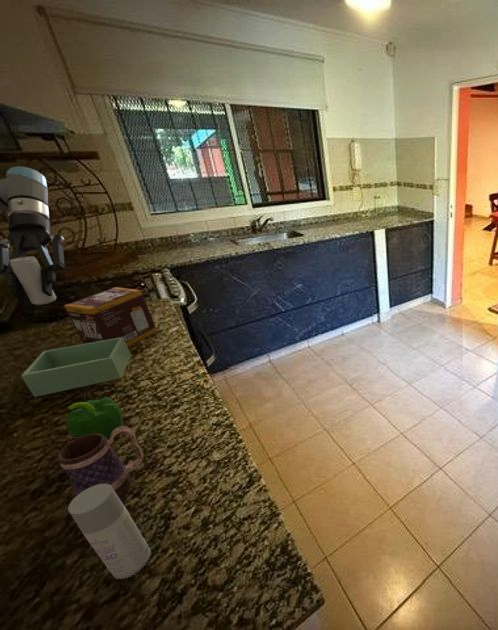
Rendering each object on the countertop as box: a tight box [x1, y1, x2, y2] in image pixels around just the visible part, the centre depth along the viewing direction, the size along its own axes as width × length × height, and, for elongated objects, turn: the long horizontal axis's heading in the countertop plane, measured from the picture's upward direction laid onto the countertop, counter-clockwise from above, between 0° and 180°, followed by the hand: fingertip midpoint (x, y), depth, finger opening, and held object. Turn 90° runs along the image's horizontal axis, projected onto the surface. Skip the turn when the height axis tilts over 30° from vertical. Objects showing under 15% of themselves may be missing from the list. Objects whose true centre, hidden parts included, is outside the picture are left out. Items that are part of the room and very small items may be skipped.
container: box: [67, 484, 152, 580], centre depth 49 cm, size 5×5×15 cm
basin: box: [21, 337, 132, 398], centre depth 93 cm, size 18×13×7 cm
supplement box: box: [63, 286, 158, 348], centre depth 108 cm, size 10×15×16 cm
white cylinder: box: [9, 255, 57, 306], centre depth 90 cm, size 5×5×12 cm
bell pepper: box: [66, 396, 124, 440], centre depth 73 cm, size 8×8×10 cm
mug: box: [57, 425, 144, 499], centre depth 61 cm, size 10×7×12 cm
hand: (32, 295), depth 88 cm, fingers closed on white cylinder, 5 cm apart
